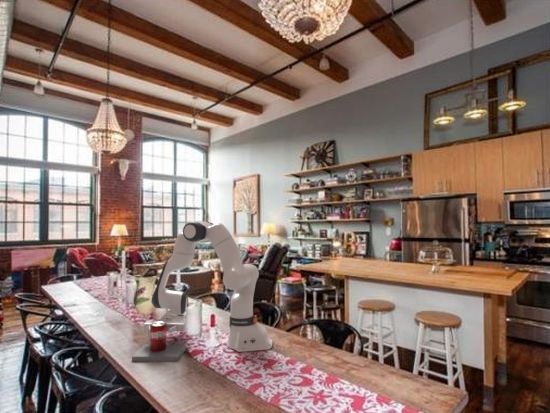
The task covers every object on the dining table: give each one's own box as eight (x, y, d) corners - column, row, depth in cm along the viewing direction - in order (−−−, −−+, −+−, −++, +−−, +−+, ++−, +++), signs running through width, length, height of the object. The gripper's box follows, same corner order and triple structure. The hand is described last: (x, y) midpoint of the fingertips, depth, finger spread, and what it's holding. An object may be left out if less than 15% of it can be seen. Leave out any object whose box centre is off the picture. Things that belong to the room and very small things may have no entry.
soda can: (149, 348, 151) (150, 322, 151) (166, 346, 153) (166, 320, 154) (149, 354, 144) (149, 326, 144) (166, 352, 146) (166, 325, 147)
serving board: (186, 348, 155) (186, 344, 155) (177, 361, 141) (177, 356, 141) (144, 348, 155) (144, 344, 155) (131, 361, 141) (132, 356, 141)
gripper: (148, 315, 164) (137, 324, 150) (189, 315, 164) (181, 324, 151) (148, 328, 164) (137, 337, 150) (189, 328, 164) (181, 338, 150)
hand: (159, 331), depth 150 cm, fingers open, 8 cm apart
